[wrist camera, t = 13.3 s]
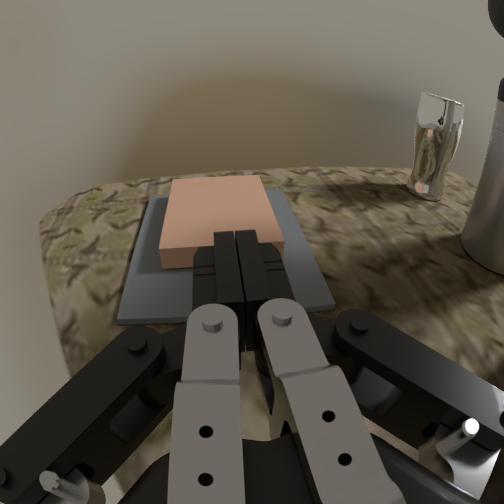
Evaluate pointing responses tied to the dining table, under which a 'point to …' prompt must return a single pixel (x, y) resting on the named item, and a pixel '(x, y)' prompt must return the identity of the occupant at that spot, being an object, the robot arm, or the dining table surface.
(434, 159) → the beer glass
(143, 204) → the dining table surface
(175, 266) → the tile
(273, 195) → the mat
